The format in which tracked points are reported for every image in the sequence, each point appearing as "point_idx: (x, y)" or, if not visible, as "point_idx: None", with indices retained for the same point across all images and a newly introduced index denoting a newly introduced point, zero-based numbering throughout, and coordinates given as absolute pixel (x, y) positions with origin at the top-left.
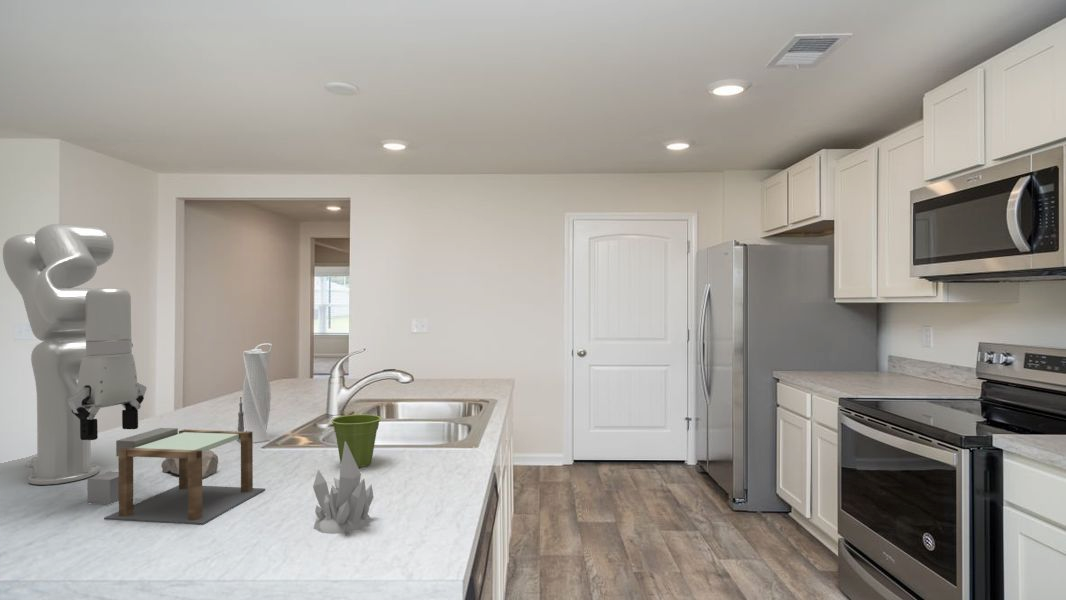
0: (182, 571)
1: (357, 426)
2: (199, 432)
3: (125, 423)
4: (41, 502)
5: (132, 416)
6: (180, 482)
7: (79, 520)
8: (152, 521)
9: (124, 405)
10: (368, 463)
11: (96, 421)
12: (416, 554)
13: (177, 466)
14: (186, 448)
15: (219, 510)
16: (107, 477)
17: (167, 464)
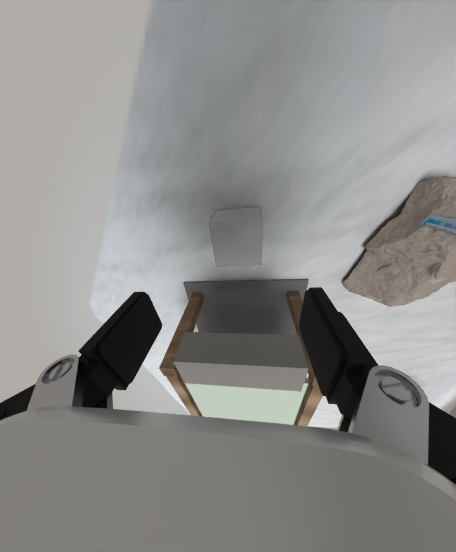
0: (154, 368)
1: None
2: (308, 396)
3: (311, 314)
4: (194, 95)
5: (316, 363)
6: (289, 299)
7: (170, 260)
8: (196, 323)
9: (355, 409)
10: None
11: (129, 379)
12: None
13: (382, 246)
14: (205, 411)
15: None
16: (226, 251)
17: (425, 201)
